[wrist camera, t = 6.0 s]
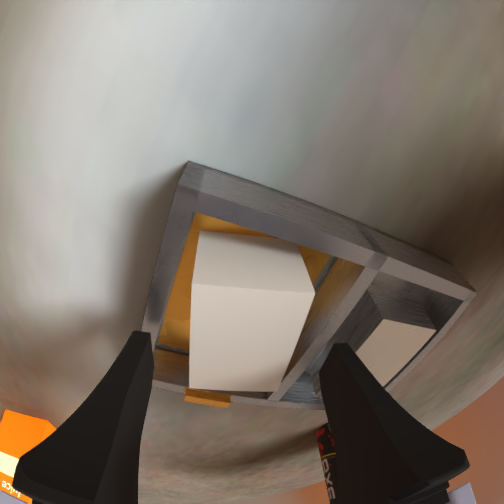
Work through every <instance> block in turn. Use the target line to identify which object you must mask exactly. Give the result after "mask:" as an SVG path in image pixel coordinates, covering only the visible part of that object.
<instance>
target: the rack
mask: <svg viewBox="0 0 504 504" xmlns="http://www.w3.org/2000/svg"><path fill="white" fill-rule="evenodd" d="M200 230H201V231H211V232H221V233H231V234H241V235H251V236H261V237H270V238H280V239H283V240H287V241H290V242H293V243H296V244H297V245H298V248H299V251H300V253H301V256H302V258H303V261H304V264H305V266H306V269H307V272H308V274H309V277H310V280H311V282H312V285H313V288H314V290H315V296H314V299H313V301H312V304H311V307H310V310H309V312H308V315H307V318H306V320H305V323H304V326H303V328H302V331H301V334H300V336H299V339H298V341H297V344H296V347H295V349H294V352H293V354H292V357H291V359H290V362H289V364H288V367H287V369H286V372H285V374H284V376H283V379H282V381H281V384H280V386H279V388H278V391H277V392H260V391H226V390H209V389H195V388H189V355H190V316H191V291H192V279H193V272H194V265H195V258H196V252H197V245H198V239H199V233H200ZM476 294H477V292H476V291H475V290H474V288H473V287H472V286H471V285H470V284H469V283H468V281H467V280H466V279H465V278H464V277H463V276H462V275H461V274H460V272H459V271H458V270H457V269H456V268H455V267H454V266H453V265H452V264H451V263H449V262H447V261H445V260H443V259H441V258H438V257H436V256H434V255H432V254H430V253H428V252H426V251H424V250H421V249H419V248H417V247H415V246H413V245H411V244H408V243H406V242H404V241H402V240H399V239H397V238H395V237H393V236H390V235H388V234H386V233H384V232H381V231H379V230H377V229H374V228H372V227H369V226H367V225H365V224H362V223H360V222H358V221H355V220H353V219H350V218H348V217H345V216H343V215H340V214H338V213H335V212H333V211H330V210H328V209H325V208H323V207H320V206H318V205H315V204H312V203H310V202H307V201H305V200H302V199H299V198H297V197H294V196H291V195H289V194H286V193H283V192H280V191H278V190H275V189H272V188H269V187H266V186H264V185H261V184H258V183H255V182H252V181H249V180H246V179H243V178H240V177H237V176H234V175H231V174H228V173H225V172H222V171H219V170H216V169H213V168H210V167H207V166H204V165H200V164H197V163H194V162H191V161H188V163H187V165H186V167H185V169H184V172H183V174H182V176H181V178H180V180H179V182H178V185H177V188H176V191H175V195H174V198H173V201H172V205H171V208H170V212H169V215H168V219H167V223H166V226H165V230H164V234H163V238H162V241H161V245H160V249H159V253H158V257H157V261H156V265H155V270H154V274H153V278H152V282H151V287H150V291H149V296H148V301H147V305H146V310H145V315H144V320H143V325H142V330H141V331H142V332H150V333H151V342H152V351H153V359H154V371H153V380H152V386H153V387H157V388H161V389H166V390H170V391H175V392H179V393H184V401H188V402H193V403H198V404H204V405H210V406H216V407H223V408H228V407H229V405H230V404H231V402H237V403H245V404H253V405H261V406H271V407H282V408H295V409H311V410H325V406H324V402H323V398H322V394H321V387H320V379H319V371H320V369H321V367H322V366H323V364H324V362H325V360H326V358H327V356H328V354H329V352H330V350H331V348H332V346H333V344H334V343H348V344H349V346H350V347H351V348H352V349H353V351H354V352H355V353H356V354H357V356H358V357H359V358H360V360H361V361H362V362H363V363H364V365H365V366H366V367H367V368H368V370H369V371H370V372H371V373H372V375H373V376H374V377H375V378H376V379H377V381H378V382H379V383H380V384H381V385H382V387H383V388H384V389H385V390H386V391H387V392H389V391H390V390H391V389H392V388H394V387H395V386H396V385H397V384H398V383H399V382H400V381H401V380H402V379H403V378H404V377H405V376H406V375H407V374H408V373H409V372H410V371H411V370H412V369H413V368H414V367H415V366H416V365H417V364H418V363H419V362H420V361H421V360H422V359H423V358H424V357H425V356H426V355H427V354H428V352H429V351H430V350H431V349H432V348H433V347H434V346H435V345H436V344H437V343H438V341H439V340H440V339H441V338H442V337H443V336H444V335H445V333H446V332H447V331H448V330H449V329H450V327H451V326H452V325H453V324H454V323H455V321H456V320H457V319H458V318H459V317H460V315H461V314H462V313H463V311H464V310H465V309H466V308H467V306H468V305H469V304H470V302H471V301H472V300H473V298H474V297H475V296H476Z"/></svg>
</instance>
